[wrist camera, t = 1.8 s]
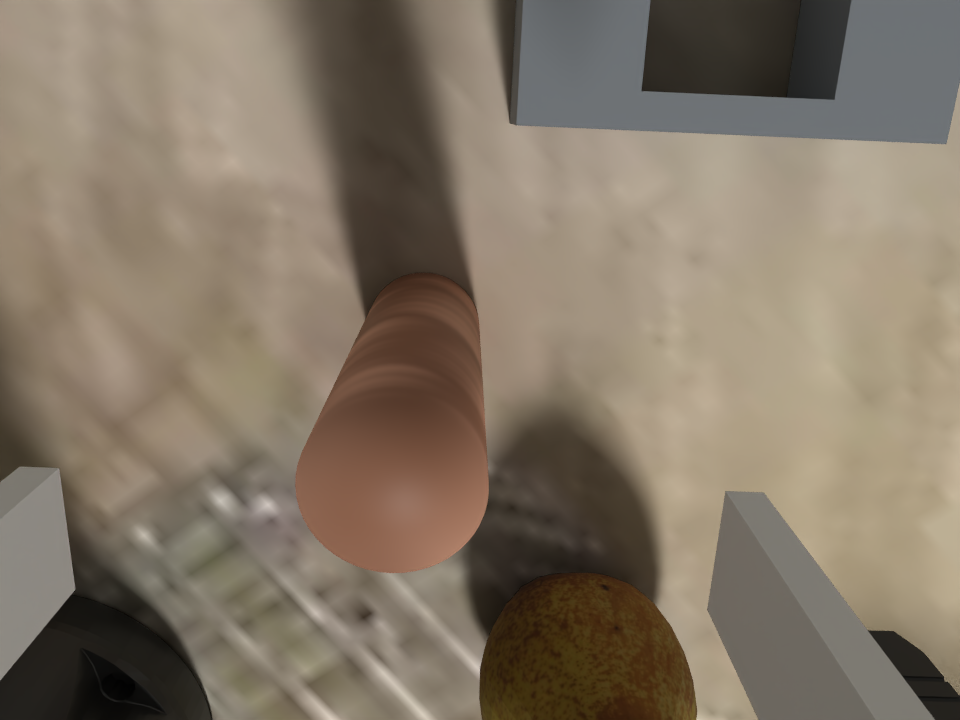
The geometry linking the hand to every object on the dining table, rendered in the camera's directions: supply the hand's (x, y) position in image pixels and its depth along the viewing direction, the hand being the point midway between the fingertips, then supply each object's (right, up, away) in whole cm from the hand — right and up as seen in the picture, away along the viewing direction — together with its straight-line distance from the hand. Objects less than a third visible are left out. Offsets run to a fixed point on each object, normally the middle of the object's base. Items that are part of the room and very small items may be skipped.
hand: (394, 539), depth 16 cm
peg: (-1, +5, +16) cm, 16 cm away
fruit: (+6, -9, +20) cm, 23 cm away
